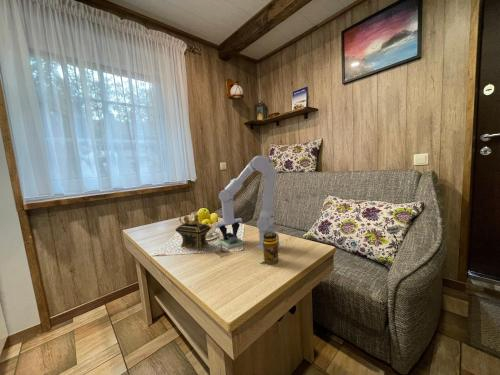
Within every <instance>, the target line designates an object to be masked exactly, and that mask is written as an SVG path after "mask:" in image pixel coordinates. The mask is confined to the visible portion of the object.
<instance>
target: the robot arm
mask: <svg viewBox="0 0 500 375" xmlns="http://www.w3.org/2000/svg"><path fill="white" fill-rule="evenodd" d="M276 170H277V169H276V167H275V165H274V162H273V160H272V159H271V158H270V157H269V155H256V156H254V157H253V158H252V159H251V160H250V161H249V163H247V165H246V166H245V167H244V169H243V170H242V171H241V173H240V174H239V175H238V177H236V178H233V179H230V180H229V184H227V186H225V187H224V190H220V192H219V193H218V198H219V201H220V202H221V210H222V211H221V212H222V213H221V214H222V221H220V222H217V223H215V224H214V225H215V226H214V227H215V229H219V231H220V232H221V234H222V238H223V237H224V240H227V233H228V228H227V226H231V229H232V234H234V235H236V236H237V235H238V231H239V228H240V227H241V226H240V225H241V224H240V223H243V218H241V217H239V218H235V212H234V211H235V210H234V199H235V195H236V194H237V193H238V191H240V190H241V189H242V187H243V182H244V181H246V180H247V178H248V177H249V176H251V174H253V173H254V172H256V171H257V172H260V173H261V174H262V176H264V186H263V194H262V204H261V211H260V213H259V217H258V219H257V221H256V227H257V229H258V235H259V236H258V237H259V244H258V245H256V247H257V248H259V249H261V250H263V240H264V236H263V235H264V234H265V233H268V232H273V233H275V234H276V238H277V241H278V250H280V249H281V248H282V247H281V246H280V236H279V234H278V233H277V232H276V231H275V227H274V224H275V222H276V221H275V220H276V219H275V216H274V214H275V213H274V211H273V209H274V201H275V195H276V194H275V193H276V186H277V185H276V184H277V177H278V172H277V171H276ZM237 237H238V236H237Z"/></svg>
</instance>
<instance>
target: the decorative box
mask: <svg viewBox="0 0 500 375" xmlns="http://www.w3.org/2000/svg"><path fill="white" fill-rule="evenodd" d="M198 211H199V208H196V211H195V212H194V213H193V214H194V216H193V217H194V219H193V220H190V219H189V218H190V217H189V216H188V215H184V216H183V220H184V222H183V221H182V219H181V217H182V214H181V212H180V211H179V210H177V212H178V213H177V214H176V215H177V216H178V217H179V218H178V220H179V223H180V225H179V226H177V227H175V232H177V233H178V234H179V235H180V236H181V239H182V242H181V245H180V248H181V247H182V248H187V249H191V250H196V251H199V250H202V249H203V248H205V247H207V246H209V245H210V244H209V242H208V240H207V239H206V237H207V234H208V233H209V232H210V230H211V229H212V228H211V226H210V225H208V224H206V223H202V222H199V220H200V219H199V214H197V212H198Z"/></svg>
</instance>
